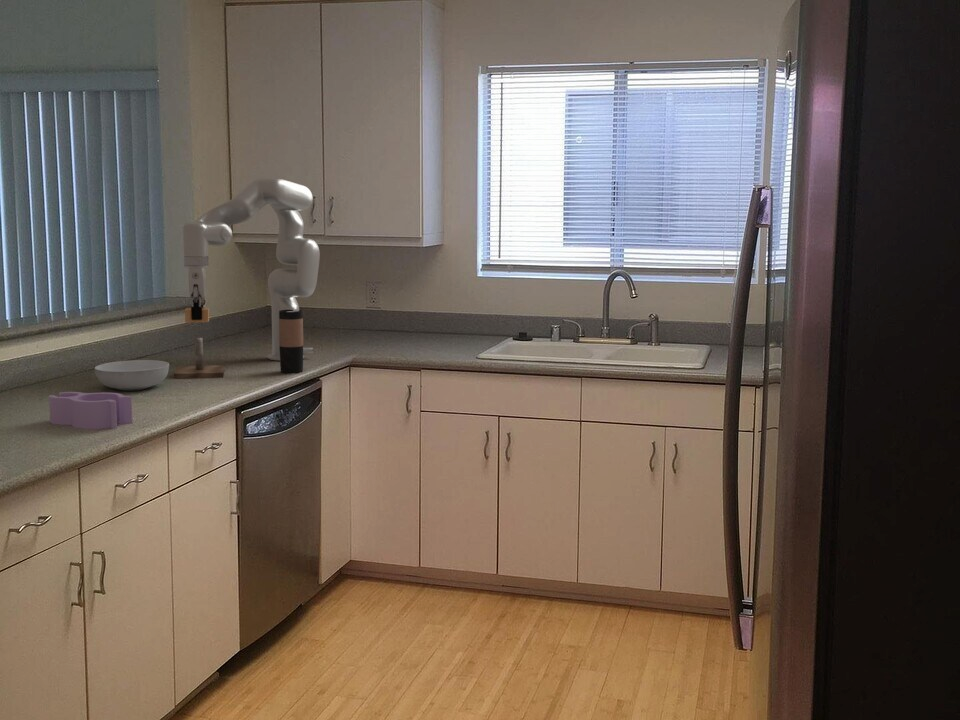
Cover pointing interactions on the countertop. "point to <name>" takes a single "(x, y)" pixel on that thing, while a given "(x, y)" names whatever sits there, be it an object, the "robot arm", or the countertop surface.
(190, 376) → the post stand
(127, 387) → the serving bowl
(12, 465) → the countertop surface
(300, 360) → the travel mug
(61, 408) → the clip
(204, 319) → the collar
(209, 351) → the countertop surface
